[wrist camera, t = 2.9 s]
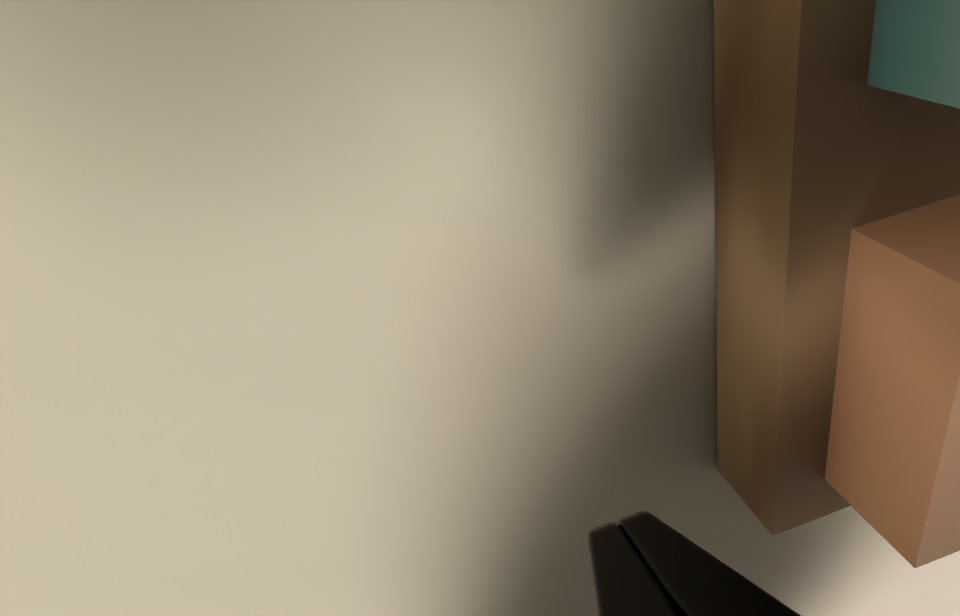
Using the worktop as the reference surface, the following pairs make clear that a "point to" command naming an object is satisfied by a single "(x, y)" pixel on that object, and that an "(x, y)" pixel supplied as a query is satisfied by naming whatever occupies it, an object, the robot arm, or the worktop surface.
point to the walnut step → (801, 227)
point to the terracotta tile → (901, 381)
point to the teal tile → (917, 49)
